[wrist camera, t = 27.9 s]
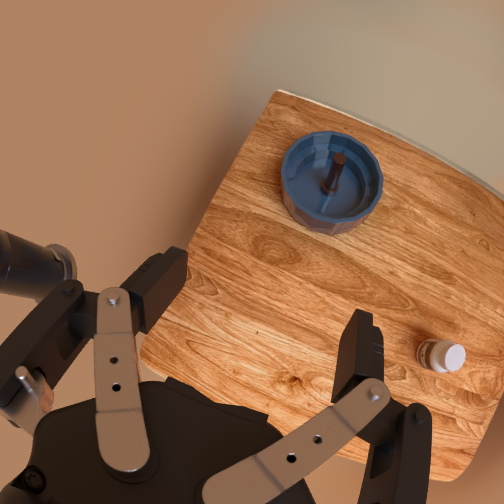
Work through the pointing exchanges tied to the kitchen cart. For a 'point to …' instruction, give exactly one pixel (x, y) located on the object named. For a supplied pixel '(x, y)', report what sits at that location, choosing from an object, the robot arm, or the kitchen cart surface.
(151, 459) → the robot arm
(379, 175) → the bowl
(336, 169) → the brown rubber stamp
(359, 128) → the kitchen cart surface
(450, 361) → the pill bottle
